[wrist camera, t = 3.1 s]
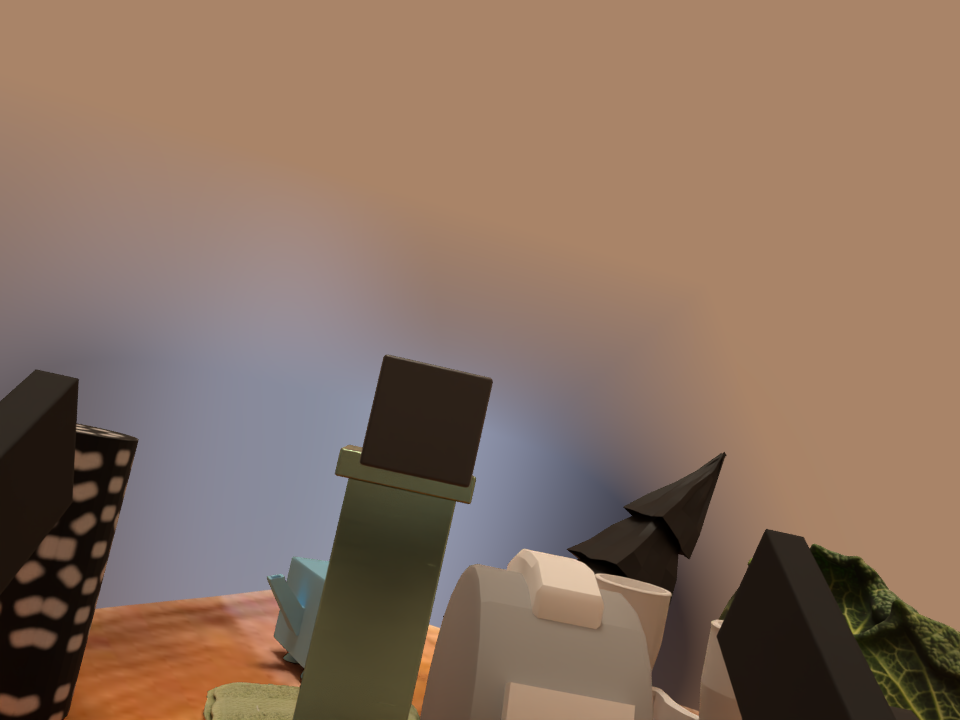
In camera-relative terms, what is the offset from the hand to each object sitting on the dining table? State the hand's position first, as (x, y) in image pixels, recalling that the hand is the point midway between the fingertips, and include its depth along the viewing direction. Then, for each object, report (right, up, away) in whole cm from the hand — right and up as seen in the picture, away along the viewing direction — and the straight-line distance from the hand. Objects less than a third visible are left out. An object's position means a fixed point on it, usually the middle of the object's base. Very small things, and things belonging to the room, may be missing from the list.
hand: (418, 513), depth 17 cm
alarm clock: (+1, -27, +28) cm, 39 cm away
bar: (-2, -1, +17) cm, 18 cm away
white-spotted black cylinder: (-32, -22, +45) cm, 60 cm away
